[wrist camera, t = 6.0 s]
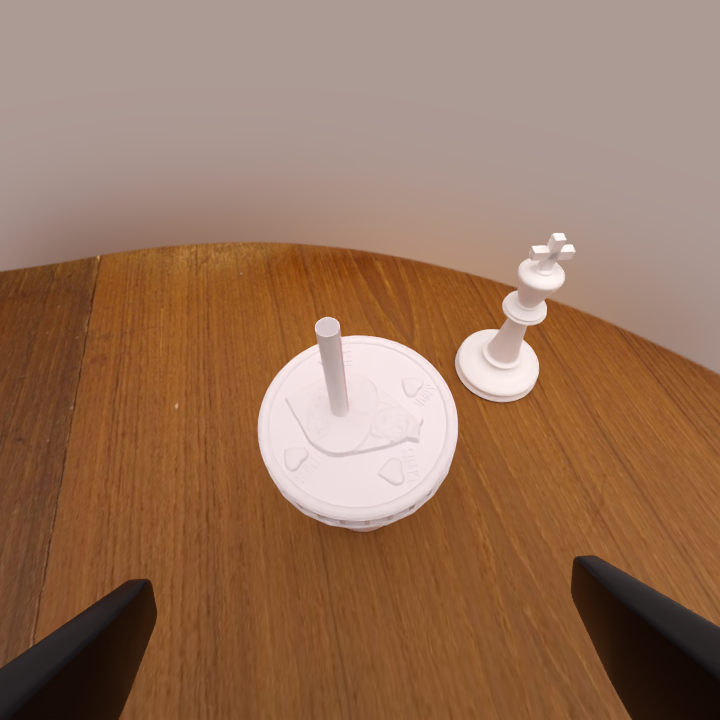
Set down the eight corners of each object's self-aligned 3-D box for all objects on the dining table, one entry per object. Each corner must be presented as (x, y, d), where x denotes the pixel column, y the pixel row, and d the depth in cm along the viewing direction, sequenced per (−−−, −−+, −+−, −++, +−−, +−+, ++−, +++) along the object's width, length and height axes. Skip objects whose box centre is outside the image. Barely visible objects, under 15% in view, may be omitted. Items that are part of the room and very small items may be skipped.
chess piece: (546, 401, 23) (645, 278, 15) (461, 403, 23) (512, 283, 15) (525, 333, 26) (599, 196, 17) (449, 336, 26) (486, 201, 18)
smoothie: (323, 424, 23) (271, 219, 11) (435, 451, 22) (509, 256, 10) (283, 541, 19) (147, 429, 8) (412, 580, 18) (483, 517, 7)
